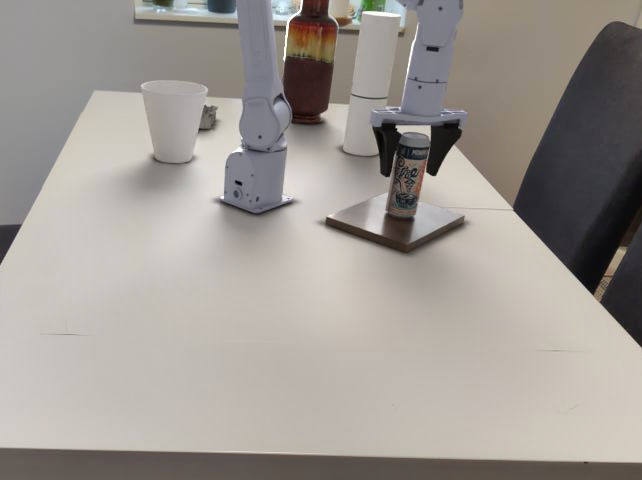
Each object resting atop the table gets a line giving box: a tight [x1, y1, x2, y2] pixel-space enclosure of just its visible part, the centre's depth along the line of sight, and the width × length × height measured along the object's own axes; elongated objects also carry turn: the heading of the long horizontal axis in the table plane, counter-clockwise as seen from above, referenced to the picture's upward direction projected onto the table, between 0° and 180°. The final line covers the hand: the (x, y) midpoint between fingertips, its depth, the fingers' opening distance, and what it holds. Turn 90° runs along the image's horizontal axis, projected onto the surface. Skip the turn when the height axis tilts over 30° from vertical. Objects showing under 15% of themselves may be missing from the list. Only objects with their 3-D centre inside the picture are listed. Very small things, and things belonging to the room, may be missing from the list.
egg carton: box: [199, 104, 219, 130], centre depth 152 cm, size 11×8×4 cm
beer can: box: [385, 131, 431, 218], centre depth 106 cm, size 5×5×12 cm
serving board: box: [324, 191, 466, 253], centre depth 109 cm, size 18×14×1 cm
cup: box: [139, 79, 209, 164], centre depth 127 cm, size 12×12×12 cm
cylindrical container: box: [342, 10, 402, 157], centre depth 136 cm, size 7×7×25 cm
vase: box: [281, 0, 339, 125], centre depth 155 cm, size 11×11×26 cm
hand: (408, 174), depth 106 cm, fingers open, 7 cm apart
